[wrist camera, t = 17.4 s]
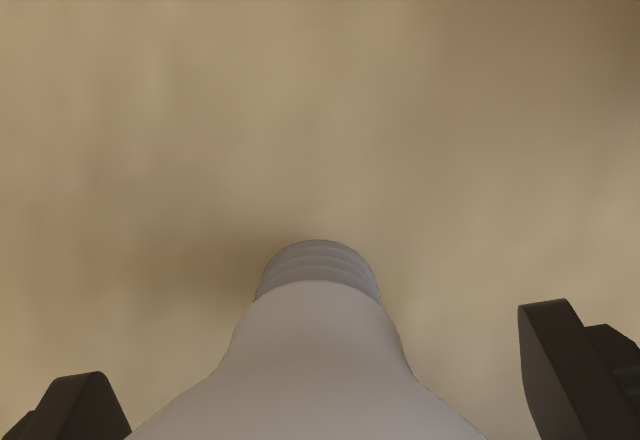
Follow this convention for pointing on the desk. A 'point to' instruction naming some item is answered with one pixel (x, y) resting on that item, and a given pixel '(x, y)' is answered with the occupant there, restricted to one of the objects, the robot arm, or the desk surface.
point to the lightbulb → (311, 365)
